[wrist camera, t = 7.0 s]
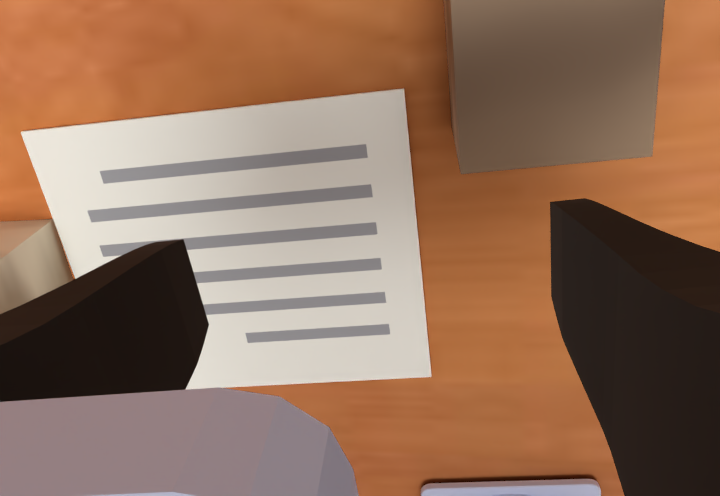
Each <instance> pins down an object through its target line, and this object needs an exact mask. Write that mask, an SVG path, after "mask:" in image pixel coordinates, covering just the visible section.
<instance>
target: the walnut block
mask: <svg viewBox="0 0 720 496" xmlns="http://www.w3.org/2000/svg"><path fill="white" fill-rule="evenodd" d="M443 1H444V16H445V32H446V47H447V63H448V78H449V94H450V109H451V125H452V131H453V136H454V141H455V147H456V152H457V157H458V162H459V167H460V172H461V174H468V173H479V172H490V171H501V170H512V169H522V168H533V167H544V166H555V165H565V164H576V163H587V162H598V161H608V160H619V159H630V158H641V157H651V156H652V154H653V141H654V129H655V117H656V104H657V92H658V79H659V67H660V55H661V42H662V30H663V17H664V5H665V0H443Z"/></svg>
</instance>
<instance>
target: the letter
mask: <svg viewBox="0 0 720 496" xmlns="http://www.w3.org/2000/svg"><path fill="white" fill-rule="evenodd" d="M21 134H22V137H23V140H24V142H25V145H26V148H27V151H28V153H29V156H30V159H31V161H32V164H33V167H34V169H35V172H36V175H37V177H38V180H39V183H40V185H41V188H42V191H43V193H44V196H45V199H46V201H47V204H48V207H49V209H50V212H51V215H52V217H53V220H54V223H55V225H56V228H57V231H58V233H59V236H60V239H61V242H62V244H63V247H64V250H65V252H66V255H67V258H68V260H69V263H70V266H71V268H72V271H73V274H74V276H75V279H76V278H78V277H80V276H82V275H84V274H86V273H88V272H90V271H92V270H94V269H96V268H98V267H100V266H101V265H103V264H105V263H107V262H109V261H111V260H113V259H115V258H117V257H119V256H121V255H124V254H126V253H128V252H130V251H132V250H134V249H137V248H139V247H142V246H144V245H147V244H150V243H154V242H161V241H171V240H181V239H184V242H185V246H186V249H187V252H188V256H189V259H190V262H191V266H192V269H193V272H194V276H195V279H196V282H197V286H198V289H199V293H200V296H201V299H202V303H203V306H204V309H205V313H206V316H207V319H208V323H209V327H208V330H207V334H206V338H205V341H204V345H203V348H202V351H201V354H200V357H199V361H198V364H197V366H196V368H195V370H194V373H193V375H192V377H191V379H190V381H189V383H188V385H187V387H186V389H203V388H218V387H219V388H225V387H245V386H264V385H284V384H303V383H322V382H342V381H361V380H381V379H400V378H420V377H432V376H431V365H430V354H429V344H428V333H427V323H426V313H425V302H424V292H423V281H422V271H421V260H420V250H419V239H418V229H417V218H416V208H415V198H414V187H413V177H412V166H411V156H410V145H409V135H408V124H407V114H406V104H405V93H404V88H401V89H392V90H383V91H374V92H365V93H356V94H348V95H339V96H330V97H321V98H312V99H303V100H294V101H285V102H276V103H267V104H258V105H250V106H241V107H232V108H223V109H214V110H205V111H196V112H187V113H178V114H169V115H160V116H151V117H143V118H134V119H125V120H116V121H107V122H98V123H89V124H80V125H71V126H62V127H53V128H44V129H36V130H27V131H22V132H21ZM186 389H185V390H186Z"/></svg>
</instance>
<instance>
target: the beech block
mask: <svg viewBox="0 0 720 496" xmlns="http://www.w3.org/2000/svg"><path fill="white" fill-rule="evenodd" d="M72 280H73V277H72V274H71V271H70V268H69V265H68V262H67V259H66V256H65V253H64V250H63V247H62V244H61V241H60V238H59V235H58V232H57V229H56V226H55V223H54V220H53V219H44V220H25V221H5V222H0V314H2V313H4V312H6V311H9V310H11V309H13V308H16V307H18V306H20V305H22V304H25V303H27V302H29V301H31V300H33V299H35V298H37V297H39V296H41V295H43V294H45V293H48V292H50V291H52V290H54V289H56V288H58V287H60V286H62V285H64V284H66V283H68V282H70V281H72Z"/></svg>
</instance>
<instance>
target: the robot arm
mask: <svg viewBox="0 0 720 496" xmlns="http://www.w3.org/2000/svg"><path fill="white" fill-rule="evenodd" d="M550 216H551V297H552V301H553V305H554V309H555V312H556V316H557V320H558V324H559V327H560V331H561V334H562V338H563V340H564V343H565V345H566V347H567V350H568V352H569V354H570V357H571V359H572V361H573V364H574V366H575V368H576V371H577V373H578V375H579V377H580V380H581V382H582V384H583V386H584V389H585V391H586V393H587V395H588V398H589V400H590V402H591V404H592V407H593V409H594V411H595V413H596V416H597V418H598V420H599V422H600V425H601V427H602V429H603V432H604V434H605V437H606V440H607V442H608V445H609V447H610V450H611V453H612V456H613V459H614V463H615V466H616V469H617V472H618V476H619V479H620V482H621V485H622V489H623V492H624V495H625V496H720V252H718V251H715V250H712V249H709V248H706V247H703V246H700V245H697V244H694V243H692V242H689V241H686V240H684V239H681V238H678V237H675V236H673V235H670V234H668V233H665V232H663V231H660V230H658V229H656V228H653V227H651V226H649V225H646V224H644V223H642V222H640V221H637V220H635V219H633V218H631V217H628V216H626V215H624V214H622V213H620V212H618V211H615V210H613V209H611V208H609V207H607V206H604V205H602V204H600V203H597V202H595V201H592V200H588V199H575V200H565V201H555V202H550ZM208 327H209V323H208V319H207V316H206V313H205V309H204V306H203V303H202V299H201V296H200V293H199V289H198V286H197V282H196V279H195V276H194V272H193V269H192V266H191V262H190V259H189V256H188V252H187V249H186V246H185V242H184V239H181V240H171V241H161V242H154V243H150V244H147V245H144V246H142V247H139V248H137V249H134V250H132V251H130V252H128V253H126V254H124V255H121V256H119V257H117V258H115V259H113V260H111V261H109V262H107V263H105V264H103V265H101V266H100V267H98V268H96V269H94V270H92V271H90V272H88V273H86V274H84V275H82V276H80V277H78V278H76V279H74V280H72V281H70V282H68V283H66V284H64V285H62V286H60V287H58V288H56V289H54V290H52V291H50V292H48V293H45V294H43V295H41V296H39V297H37V298H35V299H33V300H31V301H29V302H27V303H25V304H22V305H20V306H18V307H16V308H13V309H11V310H9V311H6V312H4V313H2V314H0V496H359V495H358V490H357V485H356V481H355V476H354V471H353V468H352V467H351V465H350V463H349V461H348V460H347V458H346V456H345V454H344V452H343V451H342V449H341V447H340V445H339V444H338V442H337V440H336V438H335V437H334V435H333V433H332V431H331V430H330V428H329V427H328V426H326V425H325V424H323V423H321V422H320V421H318V420H316V419H315V418H313V417H312V416H310V415H308V414H307V413H305V412H304V411H302V410H300V409H299V408H297V407H296V406H294V405H292V404H291V403H289V402H287V401H286V400H284V399H283V398H281V397H279V396H273V395H266V394H260V393H253V392H246V391H239V390H232V389H225V388H219V387H218V388H203V389H188V390H185V389H186V387H187V385H188V383H189V381H190V379H191V377H192V375H193V373H194V370H195V368H196V366H197V364H198V361H199V357H200V354H201V351H202V348H203V345H204V341H205V338H206V334H207V330H208ZM421 496H601V489H600V486H599V483H598V482H597V481H595V480H593V479H560V480H525V481H491V482H457V483H429V484H426V485H424V486H423V487H422V488H421Z"/></svg>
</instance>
